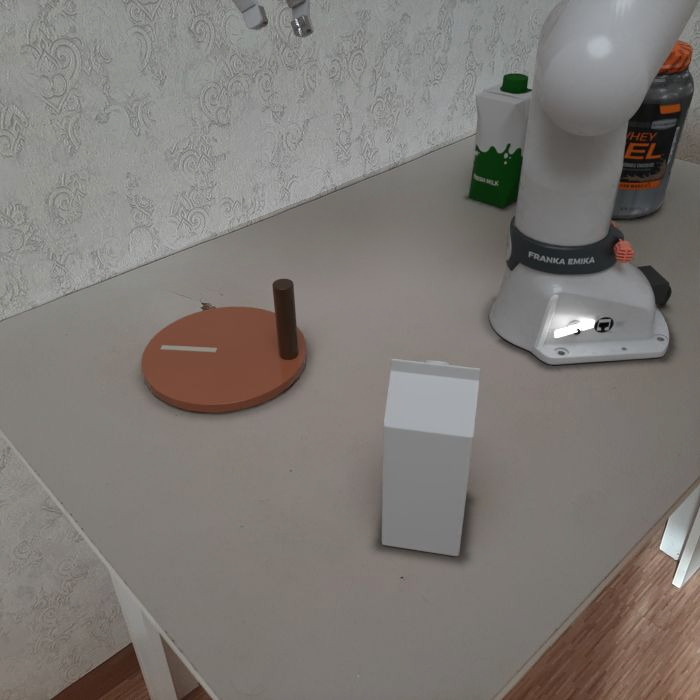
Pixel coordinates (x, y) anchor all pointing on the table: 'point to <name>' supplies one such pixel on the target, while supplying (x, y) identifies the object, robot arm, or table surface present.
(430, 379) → the milk carton
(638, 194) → the supplement tub
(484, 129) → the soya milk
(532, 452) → the table surface
